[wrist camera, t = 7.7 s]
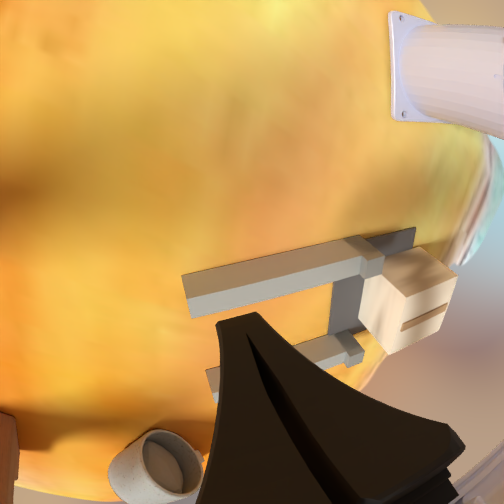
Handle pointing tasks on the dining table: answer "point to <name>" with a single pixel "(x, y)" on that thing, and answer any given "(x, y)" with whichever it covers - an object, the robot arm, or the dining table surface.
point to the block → (406, 299)
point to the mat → (362, 284)
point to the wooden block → (8, 457)
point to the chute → (286, 291)
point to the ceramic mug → (156, 469)
